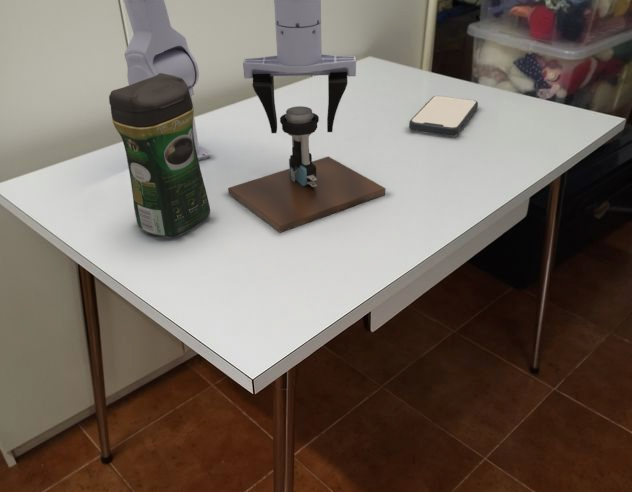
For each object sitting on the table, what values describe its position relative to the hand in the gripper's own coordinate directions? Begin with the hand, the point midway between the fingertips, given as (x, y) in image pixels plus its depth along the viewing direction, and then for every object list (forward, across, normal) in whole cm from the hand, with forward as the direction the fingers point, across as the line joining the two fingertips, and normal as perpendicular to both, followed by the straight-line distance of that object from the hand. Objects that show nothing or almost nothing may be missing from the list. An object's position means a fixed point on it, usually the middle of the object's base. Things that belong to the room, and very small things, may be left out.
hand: (302, 130), depth 86 cm
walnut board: (+8, 0, +2) cm, 9 cm away
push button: (+8, 0, 0) cm, 8 cm away
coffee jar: (+9, +17, +10) cm, 22 cm away
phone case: (+9, -24, -26) cm, 37 cm away
